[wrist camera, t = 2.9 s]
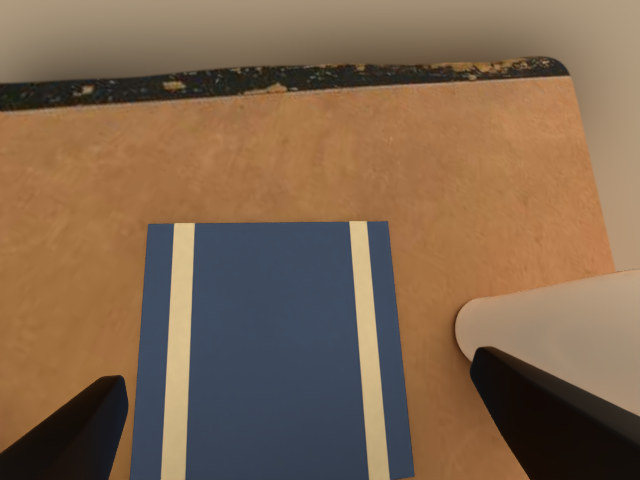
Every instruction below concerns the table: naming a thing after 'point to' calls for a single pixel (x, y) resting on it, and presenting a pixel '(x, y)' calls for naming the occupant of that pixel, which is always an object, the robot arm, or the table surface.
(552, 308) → the white tapered cup
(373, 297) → the cloth
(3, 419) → the table surface
